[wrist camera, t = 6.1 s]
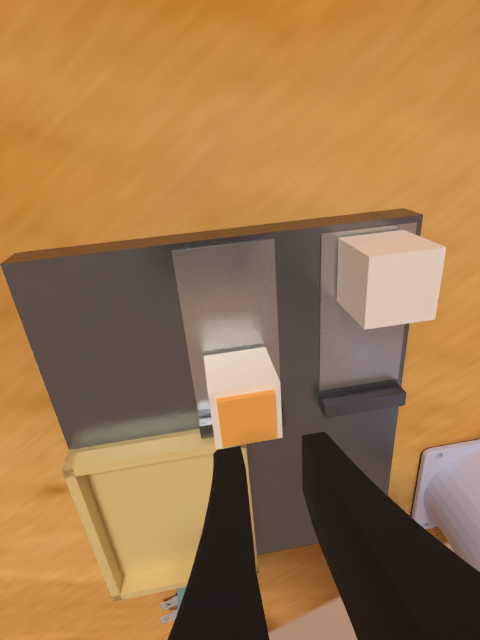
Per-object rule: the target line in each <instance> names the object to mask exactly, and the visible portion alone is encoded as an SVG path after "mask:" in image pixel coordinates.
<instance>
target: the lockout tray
mask: <svg viewBox="0 0 480 640" xmlns="http://www.w3.org/2000/svg"><path fill="white" fill-rule="evenodd" d="M237 446H241V450H242V454H243V459H244V463H245V467H246V475H247V485H248V494H249V504H250V514H251V524H252V533H253V543H254V554H255V565H256V573H257V572H259V571H258V561H257V551H256V541H255V531H254V521H253V511H252V501H251V490H250V480H249V470H248V460H247V450H246V444H243V445H237ZM231 447H236V446H231ZM225 448H230V447H225ZM225 448H219V449H225ZM219 449H216V446H215V439H214V437H209V438H203V439H201V434H200V429H195V430H188V431H182V432H176V433H170V434H164V435H158V436H152V437H146V438H140V439H133V440H127V441H121V442H115V443H109V444H103V445H97V446H91V447H84V448H78V449H72V450H69V452H68V455H67V458H66V461H65V464H64V467H63V470H62V472H63V475H64V478H65V480H66V483H67V485H68V488H69V490H70V493H71V495H72V498H73V500H74V503H75V505H76V508H77V510H78V513H79V516H80V518H81V521H82V523H83V526H84V528H85V531H86V533H87V536H88V538H89V541H90V543H91V546H92V548H93V551H94V553H95V556H96V559H97V561H98V564H99V566H100V569H101V571H102V574H103V576H104V579H105V581H106V584H107V586H108V589H109V591H110V594H111V597H112V599H113V601H118V600H123V599H128V598H133V597H138V596H143V595H148V594H153V593H158V592H163V591H168V590H173V589H178V588H183V587H187V583H188V580H189V577H190V574H191V570H192V567H193V563H194V560H195V556H196V552H197V549H198V545H199V541H200V538H201V534H202V530H203V526H204V521H205V516H206V512H207V507H208V502H209V497H210V491H211V484H212V476H213V454H214V453H215V452H216V450H219Z"/></svg>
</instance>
